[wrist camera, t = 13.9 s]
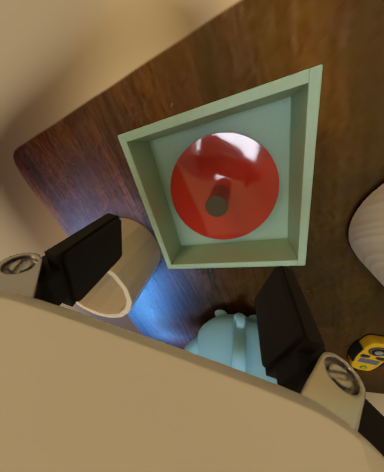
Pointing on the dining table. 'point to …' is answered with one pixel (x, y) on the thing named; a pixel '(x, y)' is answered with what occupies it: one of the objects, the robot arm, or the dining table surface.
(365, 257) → the vase
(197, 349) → the teapot
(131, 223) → the pot
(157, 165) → the green square tray
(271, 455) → the robot arm
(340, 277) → the dining table surface
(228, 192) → the lid
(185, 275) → the dining table surface
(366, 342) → the remote control
